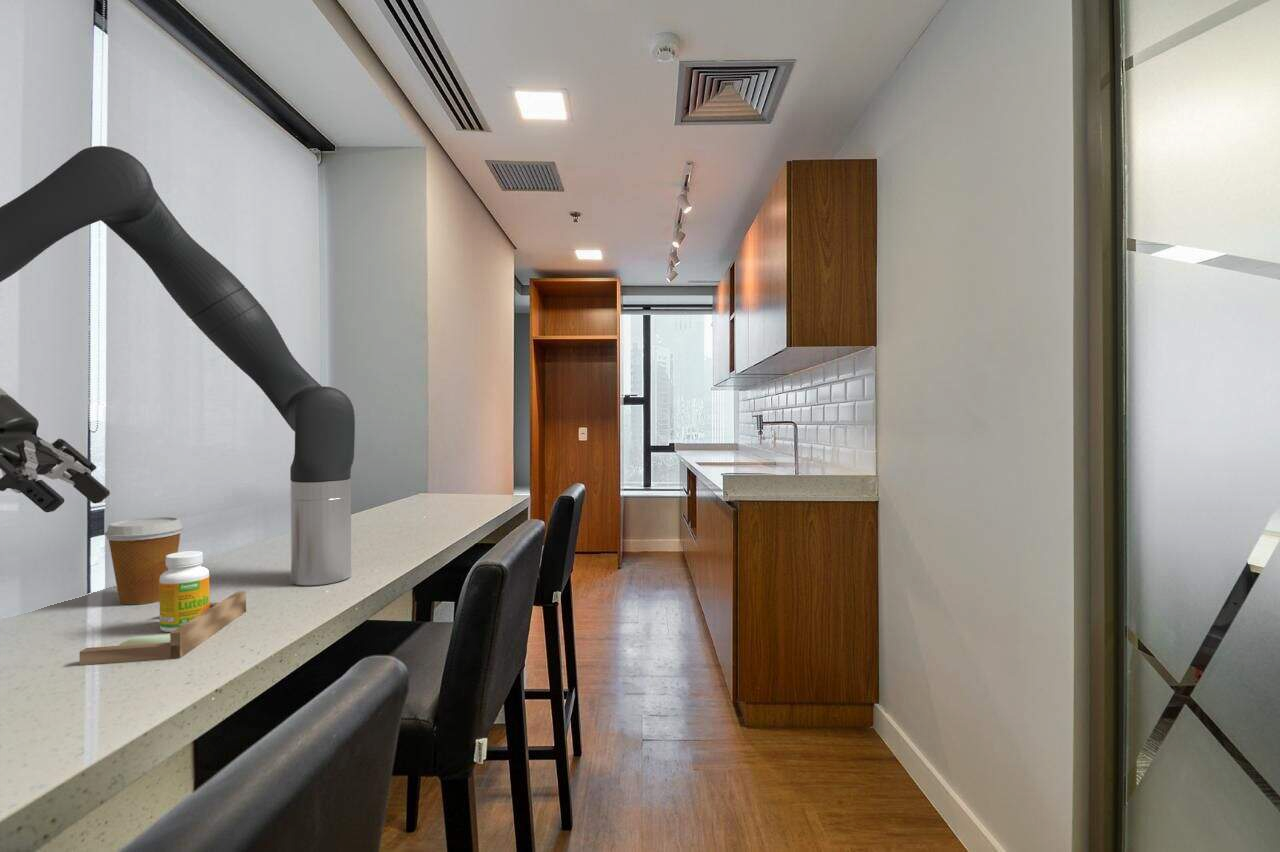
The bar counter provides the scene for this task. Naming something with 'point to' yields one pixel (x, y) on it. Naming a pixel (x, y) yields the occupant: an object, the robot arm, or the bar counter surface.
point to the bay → (171, 636)
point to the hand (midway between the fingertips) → (81, 502)
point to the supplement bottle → (183, 590)
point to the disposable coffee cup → (142, 555)
